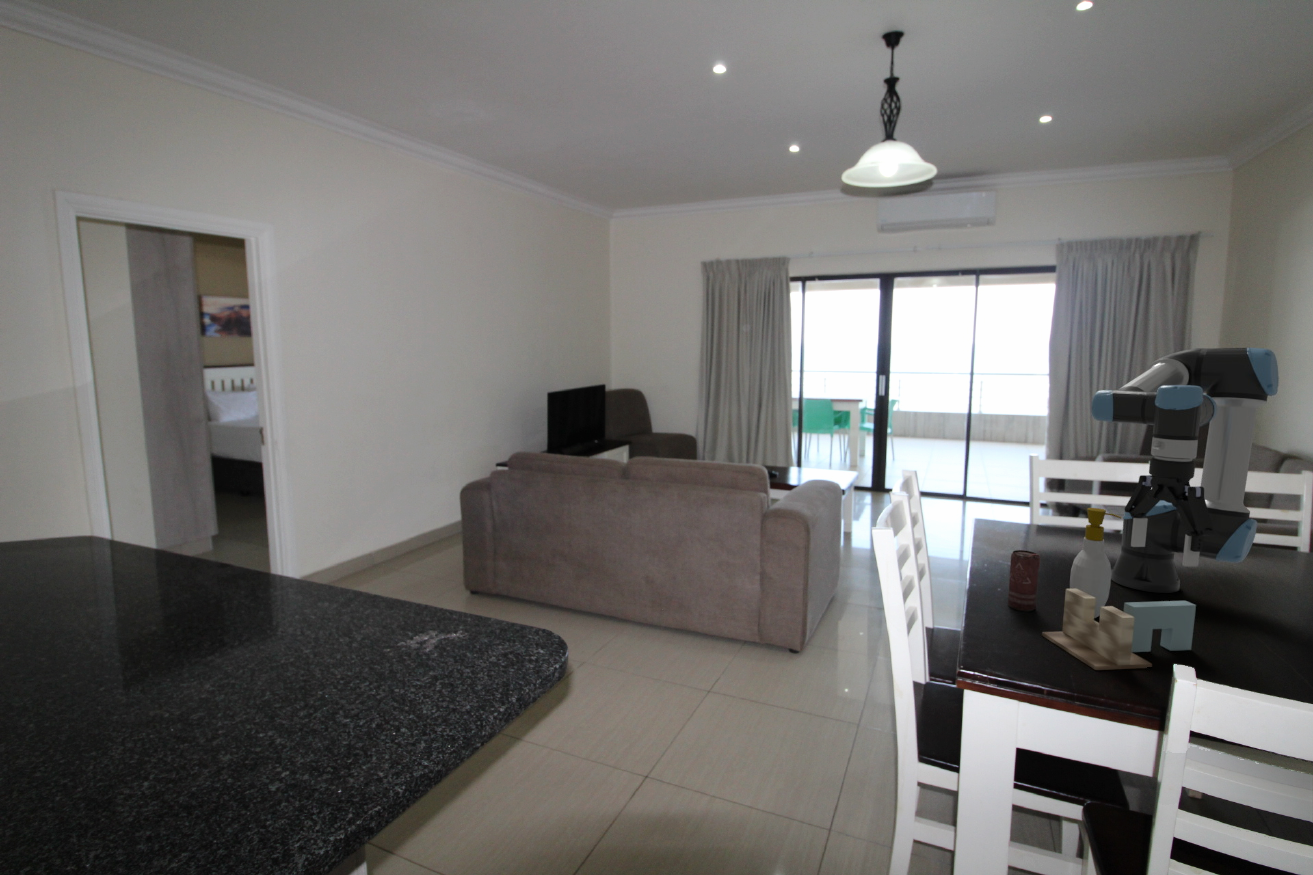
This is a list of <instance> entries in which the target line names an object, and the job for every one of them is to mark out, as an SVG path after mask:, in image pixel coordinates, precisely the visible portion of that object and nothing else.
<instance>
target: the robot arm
mask: <svg viewBox="0 0 1313 875" xmlns="http://www.w3.org/2000/svg"><path fill="white" fill-rule="evenodd" d="M1279 379H1280V378H1279V367H1278V361H1277V357H1276V354H1275V353H1274V351H1273V350H1271V349H1269V348H1264V347H1263V348H1262V347H1261V348H1260V347H1250V346H1249V347H1248V346H1247V347H1220V348H1218V347H1216V348H1214V347H1213V348H1210V347H1208V348H1203V347H1202V348H1201V347H1200V348H1199V347H1198V348H1189V349H1185V350H1180V351H1177V352H1174V353H1173V352H1172V353H1170V354H1167V355H1165V356H1162V357H1160V358H1157V360H1154V361H1153V362H1151V363H1150V364H1149V365H1148V366H1147V367H1146V368H1145V370H1144V372H1143V373H1142V374H1140V375H1138V376H1136V377H1135V378H1134V379H1132V380H1131V381H1129V382H1128V383H1126V384H1125V385H1123V386H1121V387H1120V388H1118V389H1116V390H1114V389H1113V390H1112V389H1104V390H1103V389H1102V390H1098V391H1096V392H1095V393H1094V395H1093V398H1092V400H1091V405H1090V406H1091V408H1090V409H1091V416H1092V418H1093V419H1095V420H1096V421H1100V422H1108V423H1110V424H1111V423H1115V424H1116V423H1118V424H1119V423H1120V424H1136V425H1151V426H1153V427H1152V428H1153V431H1152V441H1151V449H1150V450H1151V451H1150V455H1152V456H1153V457H1151V458H1149V459H1150V460H1149V466H1148V467H1149V468H1148V473H1149V474H1148V475H1147V474H1146V475H1145V474H1144V475H1139V476H1138V482H1137V484H1136V487H1135V489H1134V491H1133V493H1132V495H1131V496H1130V498H1129V500H1128V502H1127V503H1126V505H1125V507H1124V512H1123V513H1124V515H1123V517H1122V520H1123V524H1122V532H1121V547H1120V552H1119V555H1118V557H1117V559H1116V562H1115V564H1114V566H1113V567H1111V581H1113V582H1114V583H1116V584H1118V585H1121V586H1123V587H1126V588H1129V589H1134V590H1137V591H1143V592H1149V593H1157V594H1158V593H1159V594H1161V593H1162V594H1172V593H1176V592H1178V591H1180V587H1181V586H1180V584H1181V582H1180V581H1181V580H1180V578H1179V577H1178V576H1179V575H1178V571H1177V568H1176V564H1175V553H1178V554H1182V555H1183V556H1182V565H1181V566H1183V567H1199V562H1200V561H1199V560H1200V558H1203V559H1209V560H1214V561H1215V562H1225V563H1232V564H1237V563H1241V562H1243V561H1244V560H1245V559H1246V557H1247V556H1248V554H1249V552H1250V551H1251V548H1252V545H1253V543H1254V540H1255V537H1256V534H1257V528H1258V522H1257V520H1256V519H1254V518H1250V515H1251V510H1249V509H1248V508H1247V507H1246V505H1245V504H1244V499H1245V493H1246V485H1247V479H1248V472H1249V467H1250V466H1249V465H1250V460H1251V452H1252V447H1253V442H1254V441H1253V440H1254V432H1255V427H1256V421H1257V420H1256V419H1257V413H1258V410H1259V408H1261V407H1262V406H1264V405H1265V404H1267V403H1268V396H1269V397H1272V396H1276V395H1277V393H1278V389H1279ZM1207 424H1209V426H1208V434H1207V439H1206V446H1205V452H1204V454H1205V455H1204V460H1203V468H1202V475H1201V478H1200V480H1201V481H1200V486H1191V485H1190V481H1191V480H1192V479H1193V478H1194V477H1195V471H1196V462H1195V461H1194V460H1195V459H1196V458H1197V453H1198V445H1199V443H1198V442H1199V432H1200V427H1203V426H1206V425H1207Z"/></svg>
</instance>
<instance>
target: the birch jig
mask: <svg viewBox="0 0 1313 875" xmlns="http://www.w3.org/2000/svg"><path fill="white" fill-rule="evenodd" d="M1095 602H1096V598H1095V597H1093V596H1091V595H1089V594H1087V593H1085V592H1083V591H1080V590H1078V589H1070V588H1065V595H1064V607H1063V618H1062V630H1061V631H1042V632H1041V636H1042V637H1044V638H1045V639H1046V640H1049V641H1050V642H1051V643H1053V644H1055V646H1057V647H1059V648H1061V649H1062V650H1064V651H1065V652H1067V653H1068V654H1070V655H1071V656H1073V657H1075V658H1076V659H1077V660H1079V661H1080V662H1082V663H1084V664H1085V665H1087V666H1089V667H1091V669H1093V670H1095V671H1104V670H1105V671H1107V670H1125V669H1126V670H1129V669H1148V668H1147V667H1153V663H1151V662H1150V661H1148V660H1146V659H1145V658H1143V657H1141V656H1139V655H1137V654H1135V652H1131V649H1132V639H1133V629H1134V618H1135V617H1133V616H1131V615H1129V614H1127V613H1125V612H1124V610H1123V611H1122V610H1120V609H1118V608H1116V607H1115V606H1113V605H1107V606H1106V605H1105V606H1104V607H1101V610H1100V616H1099V622H1098V621H1096V620H1095V618H1094V613H1095Z"/></svg>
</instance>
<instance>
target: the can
mask: <svg viewBox="0 0 1313 875" xmlns="http://www.w3.org/2000/svg"><path fill="white" fill-rule="evenodd" d="M1040 567H1041V555H1040V554H1038V553H1036V552H1033V551H1029V550H1022V549H1021V550H1020V549H1019V550H1018V549H1016V550H1013V551H1012V553H1011V555H1010V565H1009V569H1010V570H1009V577H1008V578H1009V579H1008V580H1009V582H1008V593H1007V594H1008V595H1007V604H1008V606H1009V607H1010V608H1011V609H1012V610H1013V609H1014V610H1016V611H1020V612H1032V611H1034V610H1035V609H1036V607H1037V606H1036V605H1037V595H1038V580H1039V569H1040Z"/></svg>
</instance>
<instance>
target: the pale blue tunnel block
mask: <svg viewBox="0 0 1313 875" xmlns="http://www.w3.org/2000/svg"><path fill="white" fill-rule="evenodd" d="M1196 607H1197V604H1194V603H1192V602H1190V601H1187V600H1170V601H1169V600H1164V601H1163V600H1161V601H1160V600H1159V601H1137V602H1136V601H1133V602H1132V601H1131V602H1123V612H1125V613H1127V614H1129V615H1131V616H1133V617H1135V618H1134V629H1133V639H1132V649H1131V652H1132V653H1141V652H1142V653H1143V652H1144V653H1145V652H1146V653H1148V652H1151V650H1152V648H1151V647H1152V640H1153V631H1154V630H1161V634H1160V635H1161V636H1160V642H1159V643H1160V644H1159V645H1160V647H1163V648H1165V649H1166V650H1169V651H1170V652H1171V651H1192V644H1193V636H1194V634H1193V633H1194V628H1195V626H1194V625H1195V620H1196V618H1195V617H1196V609H1197V608H1196Z"/></svg>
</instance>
